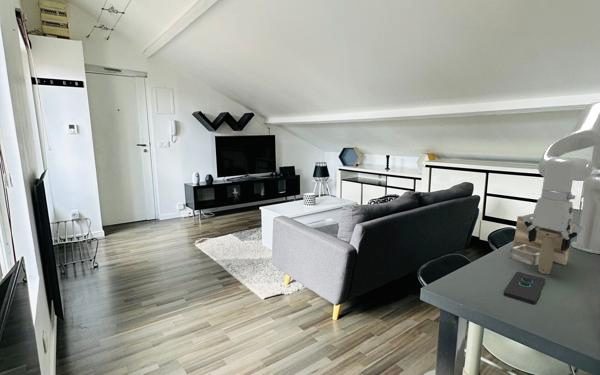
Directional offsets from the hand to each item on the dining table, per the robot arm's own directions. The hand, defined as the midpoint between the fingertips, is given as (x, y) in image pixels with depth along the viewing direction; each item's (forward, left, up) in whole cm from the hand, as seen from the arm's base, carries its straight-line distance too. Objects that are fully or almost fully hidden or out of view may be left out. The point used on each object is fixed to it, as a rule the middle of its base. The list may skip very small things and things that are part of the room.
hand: (547, 245), depth 112 cm
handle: (-1, 0, -10) cm, 10 cm away
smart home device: (+17, +3, -11) cm, 21 cm away
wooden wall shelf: (-10, -9, -10) cm, 17 cm away
